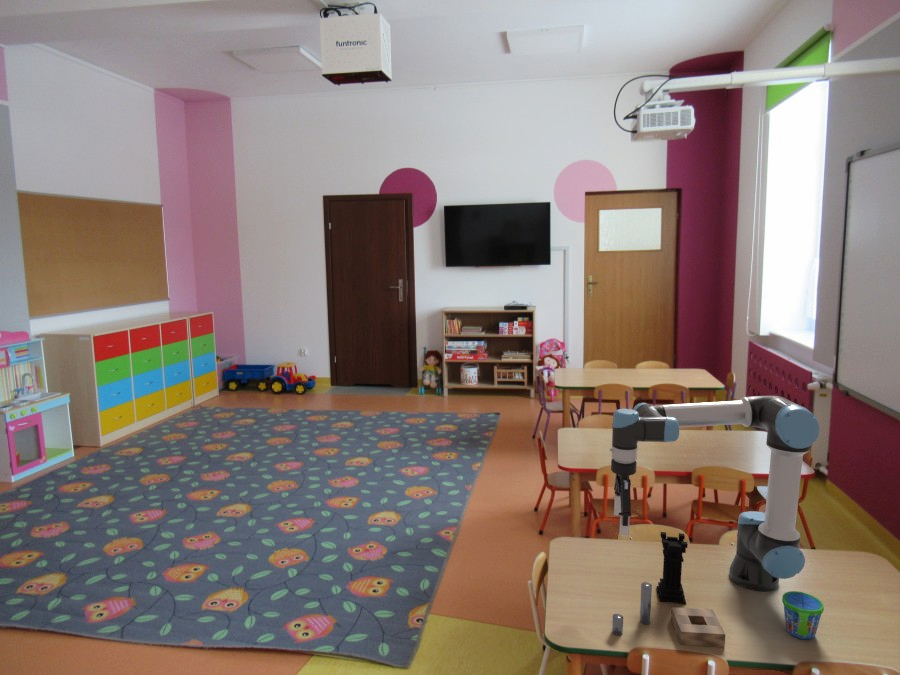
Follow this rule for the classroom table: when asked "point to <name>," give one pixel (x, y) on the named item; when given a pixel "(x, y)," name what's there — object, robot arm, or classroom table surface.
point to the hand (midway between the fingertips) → (621, 524)
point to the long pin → (645, 603)
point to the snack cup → (802, 614)
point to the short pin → (617, 624)
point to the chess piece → (672, 570)
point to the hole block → (697, 627)
